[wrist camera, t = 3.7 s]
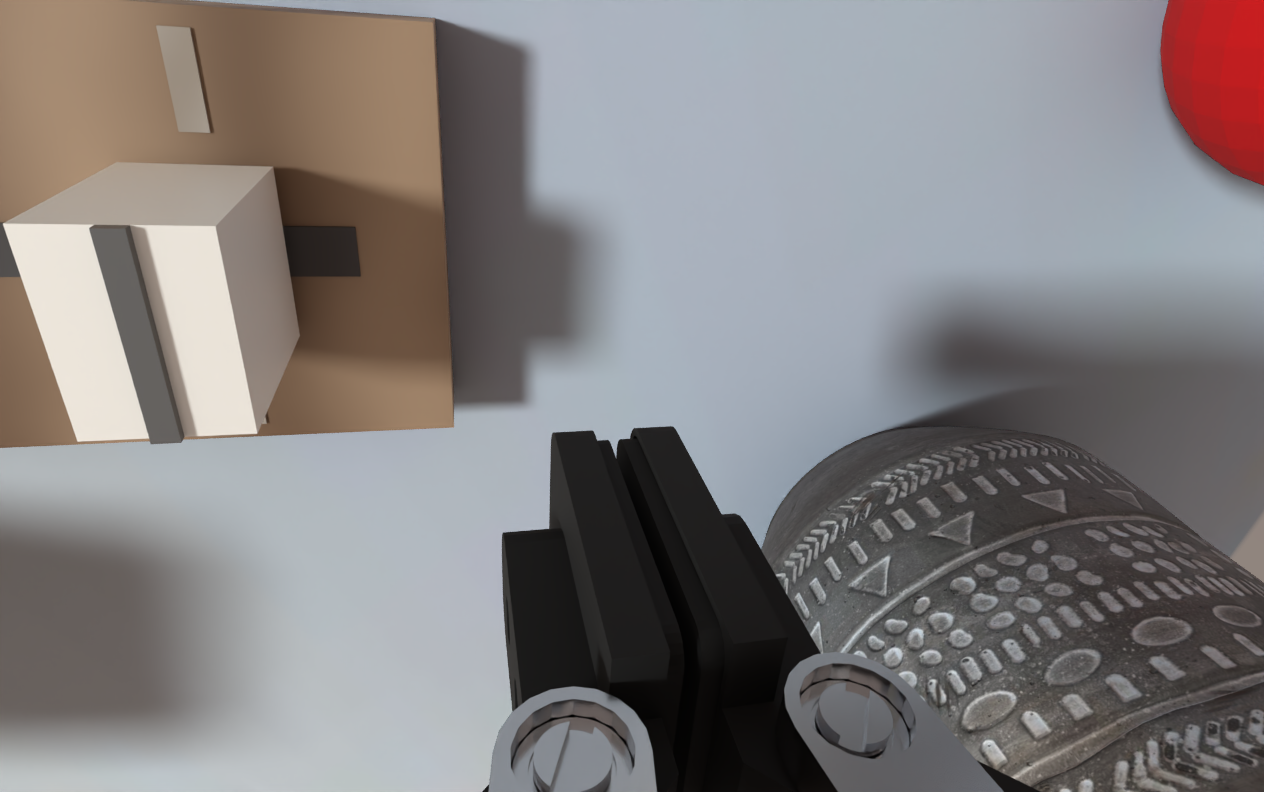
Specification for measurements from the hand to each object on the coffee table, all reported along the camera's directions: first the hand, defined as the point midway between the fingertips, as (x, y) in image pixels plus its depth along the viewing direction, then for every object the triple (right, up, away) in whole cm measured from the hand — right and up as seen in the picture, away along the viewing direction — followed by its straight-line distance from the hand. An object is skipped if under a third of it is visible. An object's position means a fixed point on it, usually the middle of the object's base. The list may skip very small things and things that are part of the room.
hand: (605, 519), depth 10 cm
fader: (-9, +5, +6) cm, 12 cm away
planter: (+10, -4, +19) cm, 21 cm away
